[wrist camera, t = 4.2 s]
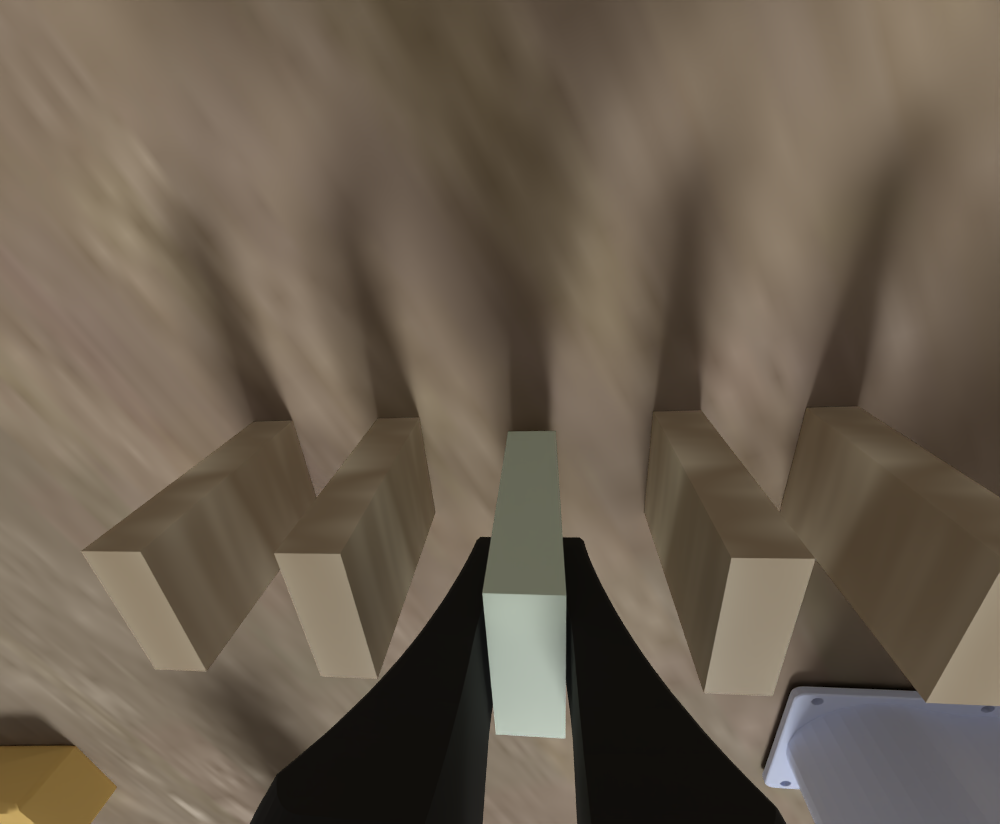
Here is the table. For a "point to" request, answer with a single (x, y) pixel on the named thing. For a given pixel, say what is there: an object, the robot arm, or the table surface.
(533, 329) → the table surface
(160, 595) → the domino
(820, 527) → the domino
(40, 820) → the rubber stamp
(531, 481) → the domino
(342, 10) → the table surface
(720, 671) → the domino
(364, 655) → the domino
